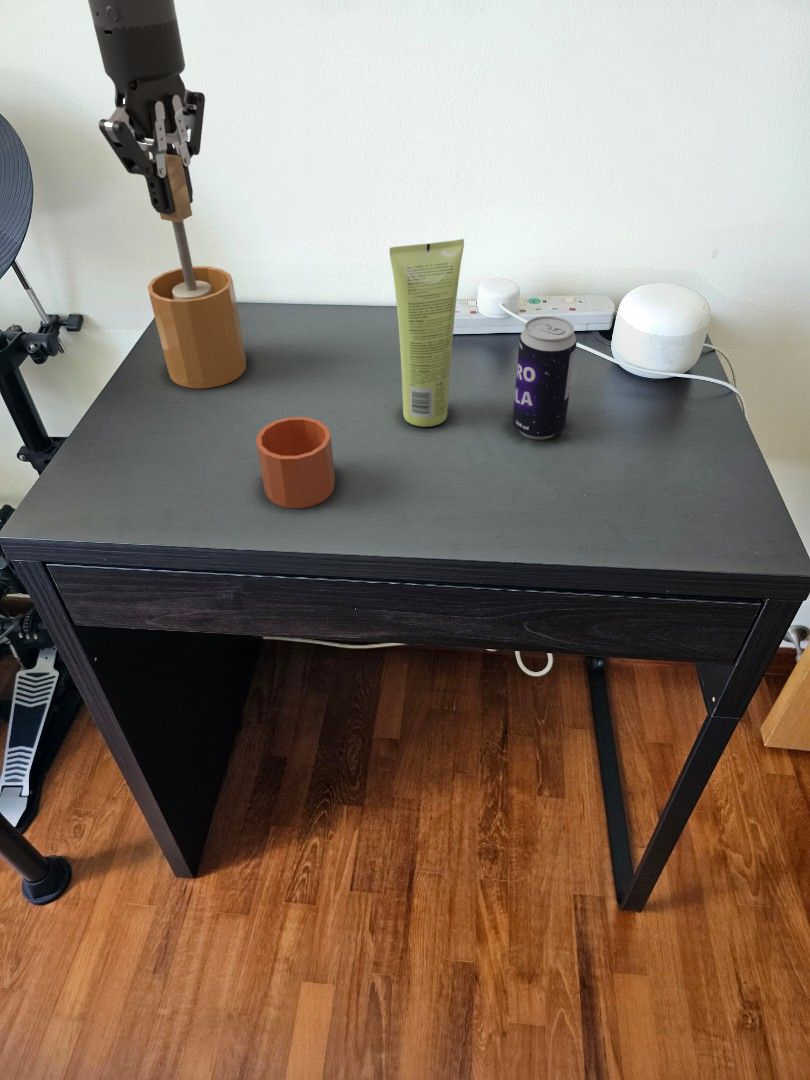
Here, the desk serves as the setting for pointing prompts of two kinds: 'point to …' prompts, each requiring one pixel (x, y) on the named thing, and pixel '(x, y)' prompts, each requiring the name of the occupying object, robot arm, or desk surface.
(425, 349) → the tube
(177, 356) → the orange pen cup
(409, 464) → the desk surface
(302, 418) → the cup
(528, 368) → the beverage can
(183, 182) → the brush
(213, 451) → the desk surface
